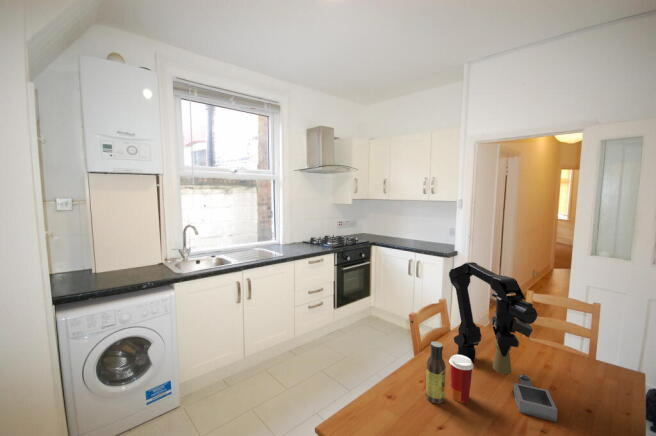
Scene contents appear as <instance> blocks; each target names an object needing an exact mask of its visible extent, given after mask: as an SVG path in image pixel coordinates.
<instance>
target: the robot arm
mask: <svg viewBox="0 0 656 436" xmlns="http://www.w3.org/2000/svg"><path fill="white" fill-rule="evenodd" d="M472 276H474V277H476V278H477V279H479V280H481V281H482V282H484V283H487V284H488V285H489V286H490V288H491V290H492V291H494V293H492V294H491V296H492V297H493V298H496V301H495V310H494V316H493V317H491V320H490V322H491V325H492V330H493V332H494V335H495V341H496V340H497V343H498V346H499V348H500V351H501V354H502V356H504V357H506V355H507V353H508V350H509V348H510V346H511V348H512V347H514V348H519V347H520V346H519V345H520V341H519V339H518V337H517V336H516V332H517V333H519V334H521V335H524V336H525V337H527V338H530V337H531V335H532V333H533V331H534V329H533V327H532V324H533V323H535V322H536V320H537V318H538V311H537V309H536V308H535V307H533V306H534V304H533V303H532V302H529V301H526V297H525V295H524V292H523V290H522V289H521V287H520V285H519V283H518V280H517V279H515V278H514V277H510V276H507V275H502V274H501V275H500V274H497V273H495V272H493V271H492V270H491V271H490V270H489V269H487V268H485V267H483V266H481V265H480V264H478V263H476V262H474V261H473V262H464V263H463V264H461V265H459V266H456V267H455V268H450V270H449V272H448V277H449V280H450V283H451V285H452V286H453V287H454V288H455V292H456V299H457V305H458V312H459V318H460V324H459V326H458V328H457V329H458V334H457V335H456V336H454V337H453V341H454V344H455V345H457V352H456V355H463V356H466V357H468V358H469V359H471V361H472V364H474V363H475V359H476V346H479V344H480V343H481V341H482V337H483V336H482V333H481V327H480V326H478V325H476V323H475V321H474V317H473V311H472V304H471V300H470V299H471V298H470V293H469V286H470V284H471V277H472Z"/></svg>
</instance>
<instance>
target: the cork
mask: <svg viewBox="0 0 656 436" xmlns="http://www.w3.org/2000/svg"><path fill="white" fill-rule="evenodd" d="M494 347H495V348H496V349H495V350H496V351H495V355H494V359H493V364H492V369H493V370H494V371H495V372H497V373H500V374H502V375H511V374H512V365H511V355H510V354H511V350H512V346H510V348H509V350H508V353H507V355H506V357H504V356H502V354H501V351H500V348H499V346H498V343H497V340H496V339H495V342H494Z"/></svg>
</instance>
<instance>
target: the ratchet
mask: <svg viewBox="0 0 656 436" xmlns="http://www.w3.org/2000/svg"><path fill="white" fill-rule="evenodd" d="M517 379H518V381H519V382H518V383H517V382H513V391H512V392H513V396H514V400H515V402H516V405H517V409H518V412H519V414H524V415H527V416H531V417H535V418H539V419H544V420H548V421H550V422H554V423H555V422H556V423H558V422H557V421H558V411H559V410H558V407H556V404H555V402H554V400H553V398H552V396H551V393H550V392H549V390H548V389H544V388H541V387H540V388H538V387H536V386H534V385H533V381H532V380H531V378H530V377H529V376H528V375H527V374H523V373H522V374H519V376H518V377H517Z"/></svg>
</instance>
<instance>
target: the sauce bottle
mask: <svg viewBox="0 0 656 436" xmlns="http://www.w3.org/2000/svg"><path fill="white" fill-rule="evenodd" d="M430 349H431V350H430V356H429V358H428V359H427V361H426V374H425V375H426V376H425V377H426V378H425V380H426V381H425V396H426V398H427V400H428V401H429V402H431V403H433V404H434V403H435V404H441V403H443V402H444V401H445V397H446V396H445V395H446V374H447V373H446V371H447V370H446V369H447V368H446V367H447V366H446V362H445V360H444V359H443V350H444V345H443V343H441V342H440V341H431V342H430Z"/></svg>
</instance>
